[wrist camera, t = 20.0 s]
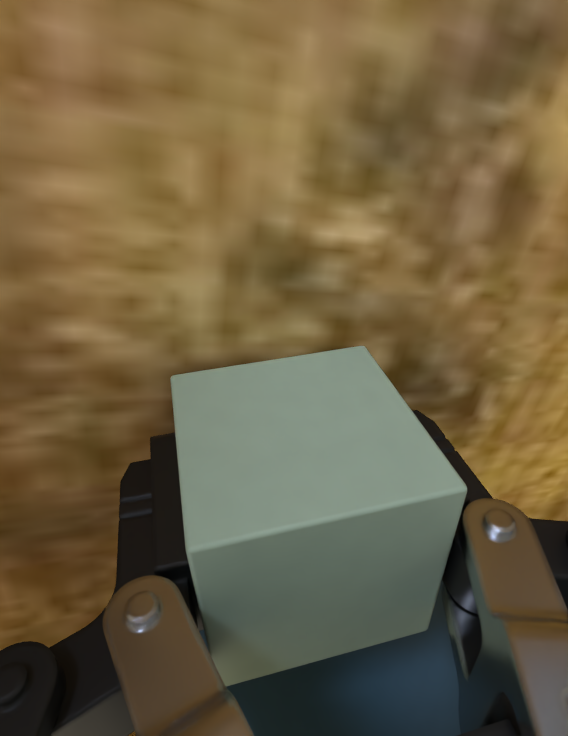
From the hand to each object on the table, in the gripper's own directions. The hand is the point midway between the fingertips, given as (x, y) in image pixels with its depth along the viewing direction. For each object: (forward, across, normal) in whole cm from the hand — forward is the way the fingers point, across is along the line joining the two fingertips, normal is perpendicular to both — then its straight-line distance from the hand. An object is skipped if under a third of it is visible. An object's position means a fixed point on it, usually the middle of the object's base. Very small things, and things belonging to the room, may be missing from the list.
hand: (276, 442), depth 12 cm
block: (0, 0, 0) cm, 0 cm away
